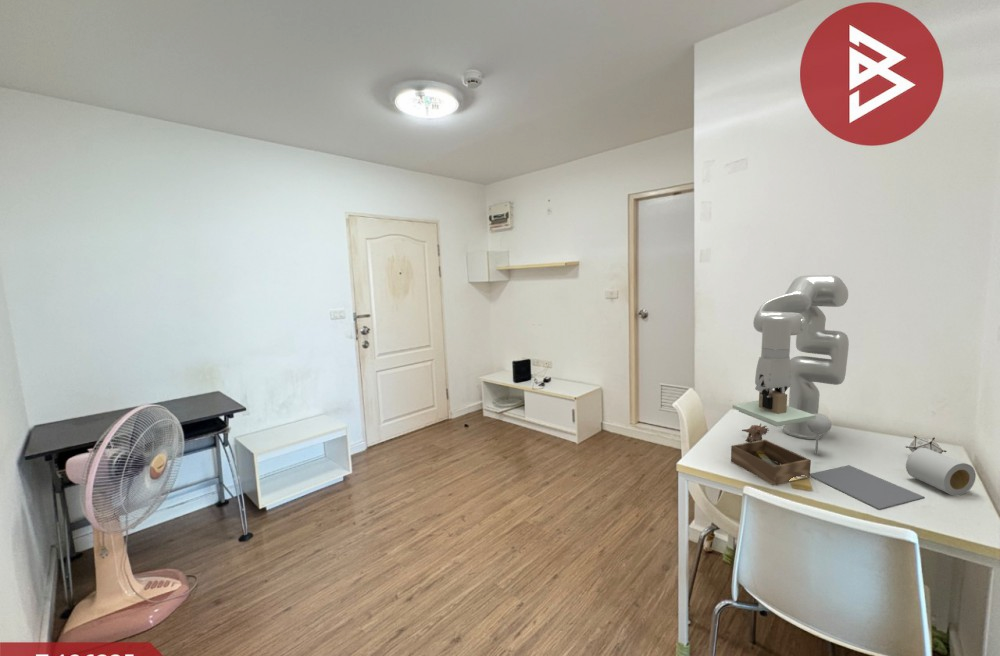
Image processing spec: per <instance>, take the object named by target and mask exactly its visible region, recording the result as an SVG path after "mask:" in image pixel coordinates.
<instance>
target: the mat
mask: <svg viewBox="0 0 1000 656" xmlns="http://www.w3.org/2000/svg"><path fill="white" fill-rule="evenodd" d="M810 478H812V479H814V480H817V481H818V482H820V483H822V484H825V485H827V486H828V487H831V488H833V489H835V490H837V491H839V492H841V493H843V494H846V495H847V496H849V497H851V498H854V499H855V500H857V501H860V502H862V503H863V504H865V505H868V506H870V507H872V508H874V509H876V510H878V511H880V510H885V509H888V508H892V507H895V506H899V505H900V506H901V505H904V504H908V503H912V502H915V501H919V500H922V499H923V500H924V499H925V496H924V495H921V494H919V493H916V492H914V491H911V490H909V489H907V488H906V487H905V488H904V487H902V486H900V485H897V484H895V483H892V482H891V481H888V480H885V479H884V478H882V477H878V476H876V475H874V474H872V473H868V472H866V471H864V470H862V469H860V468H857V467H855V466H852V465H850V464H847V465H843V466H838V467H834V468H833V467H832V468H830V469H825V470H819V471H816V472H810Z"/></svg>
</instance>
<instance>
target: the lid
mask: <svg viewBox="0 0 1000 656" xmlns="http://www.w3.org/2000/svg"><path fill="white" fill-rule="evenodd" d="M766 391H767V392H768V390H767V389H766ZM758 392H759V391H758ZM758 395H759V396H758V400H754V401H753V400H752V401H748V402H742V403H740V402H739V403H736V404H735V403H734V404H732V409H734V410H736V411H738V412H739V413H741V414H744V415H747V416H749V417H752V418H754V419H757V420H759V421H760V422H761V421H762V422H764V423H766V424H769V425H772V426H774V427H783V426H785V425H789V424H795V423H800V422H806V421H808V420H812V419H816V415H813V414H810V413H807V412H804V411H801V410H798V409H795V408H792V407H789V405H788V394H787V393H785V394H784V393H780V392H777V391H774V389H773V390H772V395H771V398H773V402H772V409H771V410H770V409H767V408H764V407H762V400H763V396H762V395H761V393H760V392H759V394H758Z"/></svg>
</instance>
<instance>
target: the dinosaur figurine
mask: <svg viewBox="0 0 1000 656" xmlns="http://www.w3.org/2000/svg"><path fill="white" fill-rule="evenodd" d="M741 431H742V432H745V433H747V435H748V436H747V437H746V439H745V440H744V441H745V442H746V443H749V442H753V440H754V441H760V440H763V436H765V435H767V433H768V432H770V429H769V428H768V425H763V426H762V423H760V424H759V425H758V424H757V425H756V424H754V425H751V426H750V427H749V428H747V429H741Z"/></svg>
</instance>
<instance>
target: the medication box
mask: <svg viewBox="0 0 1000 656" xmlns="http://www.w3.org/2000/svg"><path fill="white" fill-rule="evenodd" d="M755 457H757V458H759V459H761V460H763V461H765V462H767V463H769V464H771V465H773V466H776V465H775V464H774V463H773V461H772V460H770V459H769V458H768V456H767V455H766V454H765V453H764V452H760V451H756V456H755Z"/></svg>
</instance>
